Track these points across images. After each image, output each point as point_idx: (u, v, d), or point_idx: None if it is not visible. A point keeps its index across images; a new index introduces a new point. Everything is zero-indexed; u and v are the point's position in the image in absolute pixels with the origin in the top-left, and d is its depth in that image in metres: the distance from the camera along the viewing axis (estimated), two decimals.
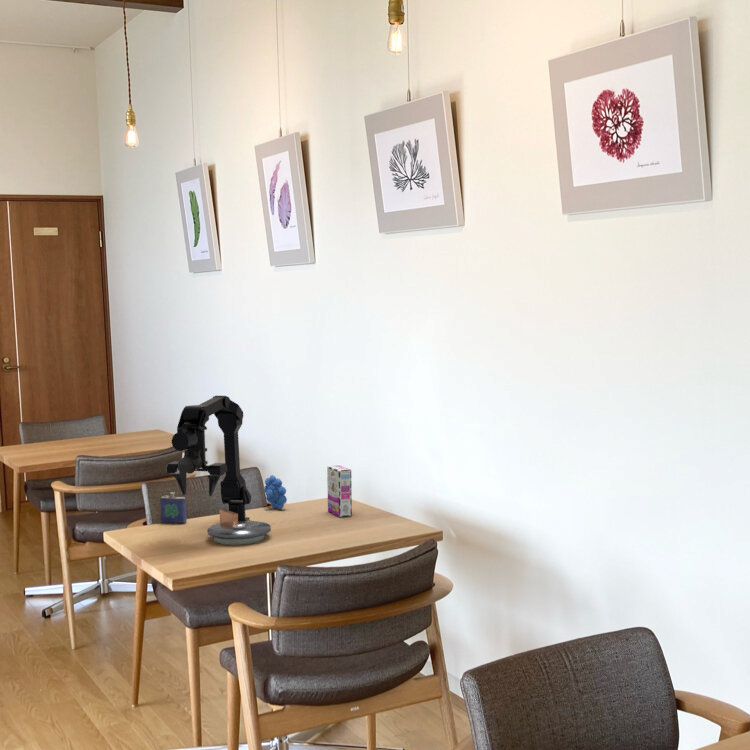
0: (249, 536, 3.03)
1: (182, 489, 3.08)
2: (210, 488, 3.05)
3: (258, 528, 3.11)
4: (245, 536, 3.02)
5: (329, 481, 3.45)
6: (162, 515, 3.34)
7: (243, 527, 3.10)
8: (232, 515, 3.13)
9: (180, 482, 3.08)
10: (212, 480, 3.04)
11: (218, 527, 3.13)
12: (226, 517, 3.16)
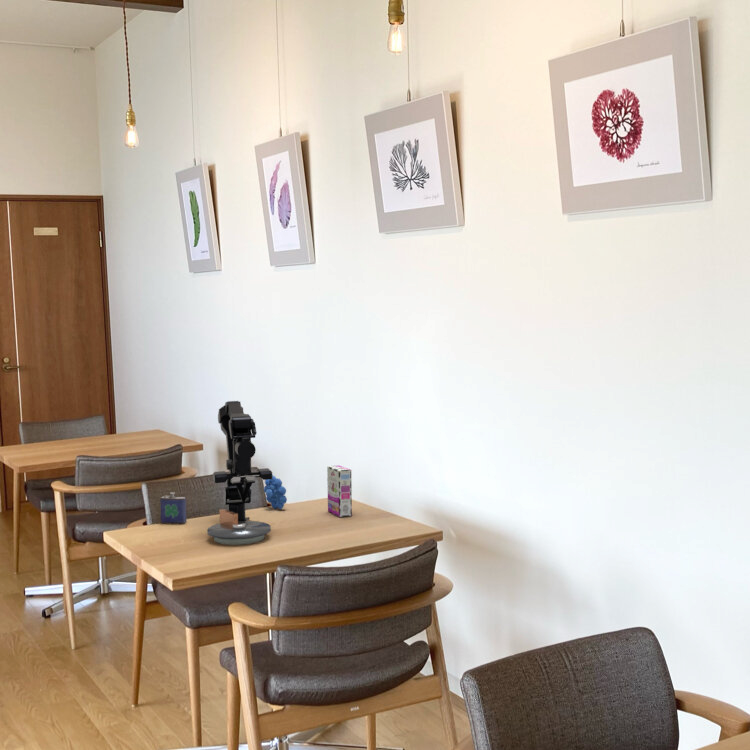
0: (249, 536, 3.03)
1: None
2: None
3: (258, 528, 3.11)
4: (245, 536, 3.02)
5: (329, 481, 3.45)
6: (162, 515, 3.34)
7: (243, 527, 3.10)
8: (232, 515, 3.13)
9: None
10: None
11: (218, 527, 3.13)
12: (226, 517, 3.16)
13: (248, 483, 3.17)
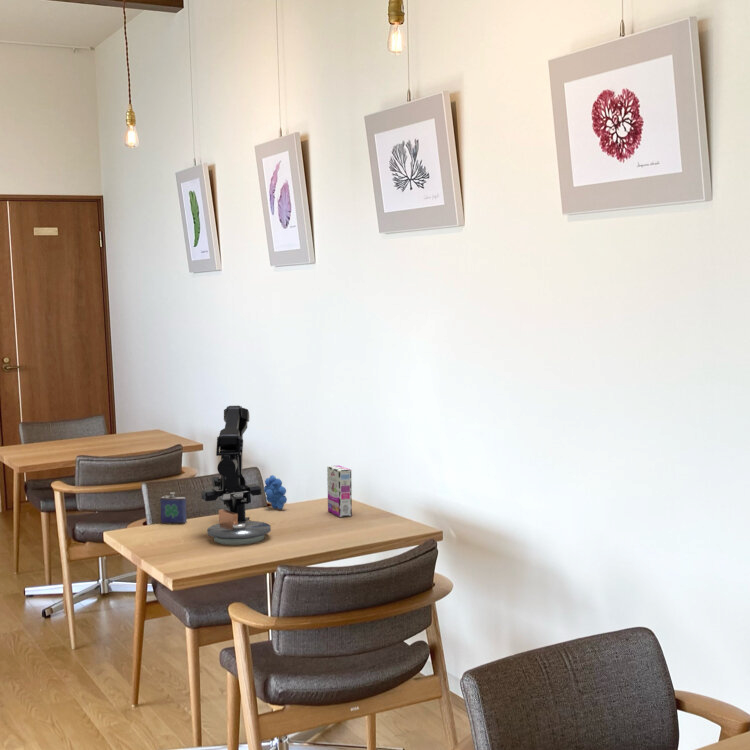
0: (250, 536, 3.03)
1: None
2: None
3: (258, 528, 3.11)
4: (246, 536, 3.02)
5: (329, 481, 3.45)
6: (162, 515, 3.34)
7: (243, 527, 3.10)
8: (232, 515, 3.13)
9: None
10: None
11: (218, 527, 3.13)
12: (226, 517, 3.16)
13: (238, 500, 3.17)
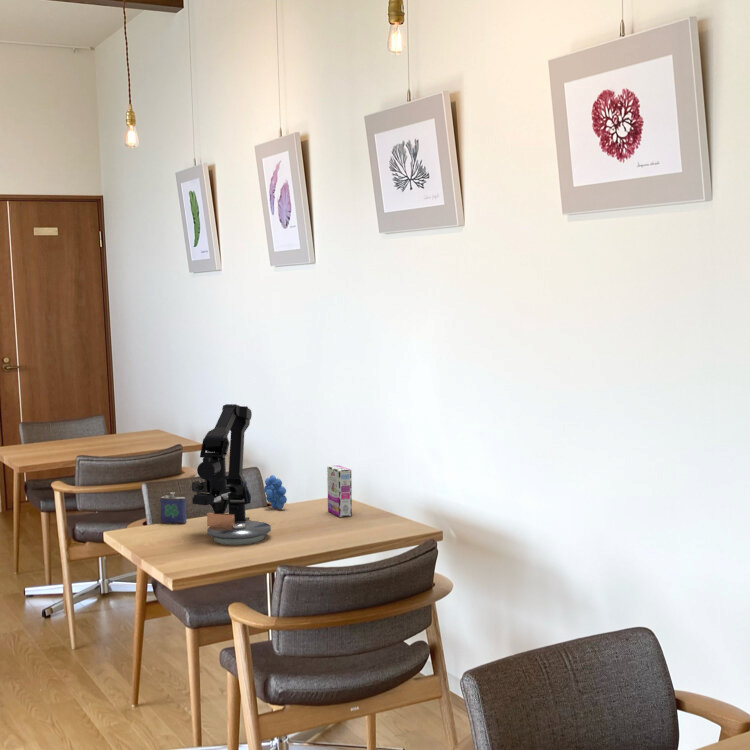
0: (264, 533, 3.06)
1: None
2: None
3: (258, 525, 3.14)
4: (261, 533, 3.05)
5: (329, 481, 3.45)
6: (162, 515, 3.34)
7: (245, 526, 3.11)
8: (230, 516, 3.11)
9: None
10: None
11: (217, 530, 3.09)
12: (219, 519, 3.13)
13: (227, 501, 3.16)
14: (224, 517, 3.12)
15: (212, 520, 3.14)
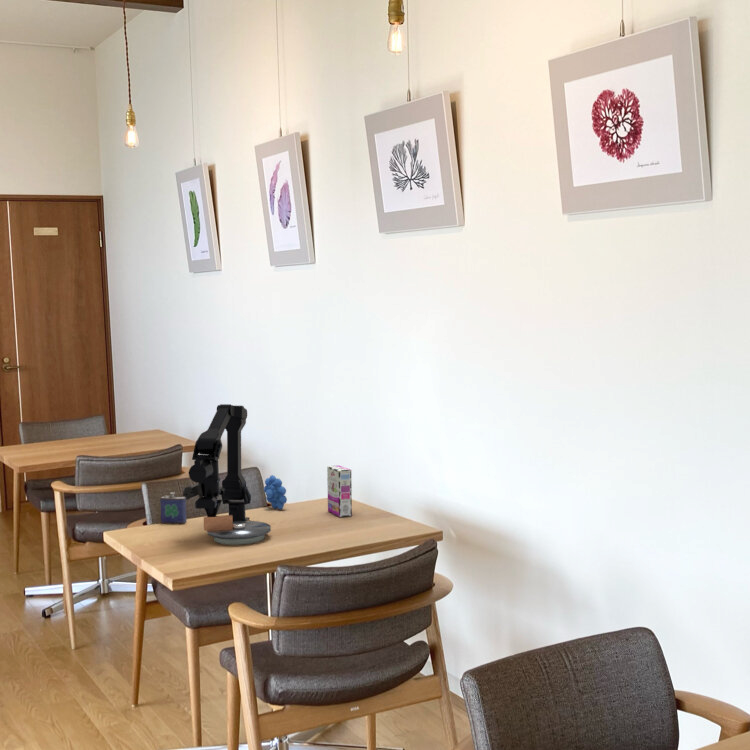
0: (270, 529, 3.11)
1: None
2: None
3: (252, 524, 3.17)
4: (269, 529, 3.10)
5: (329, 481, 3.45)
6: (162, 515, 3.34)
7: None
8: (230, 517, 3.10)
9: None
10: None
11: (223, 532, 3.06)
12: (218, 522, 3.09)
13: (220, 502, 3.13)
14: (223, 519, 3.10)
15: (210, 524, 3.09)
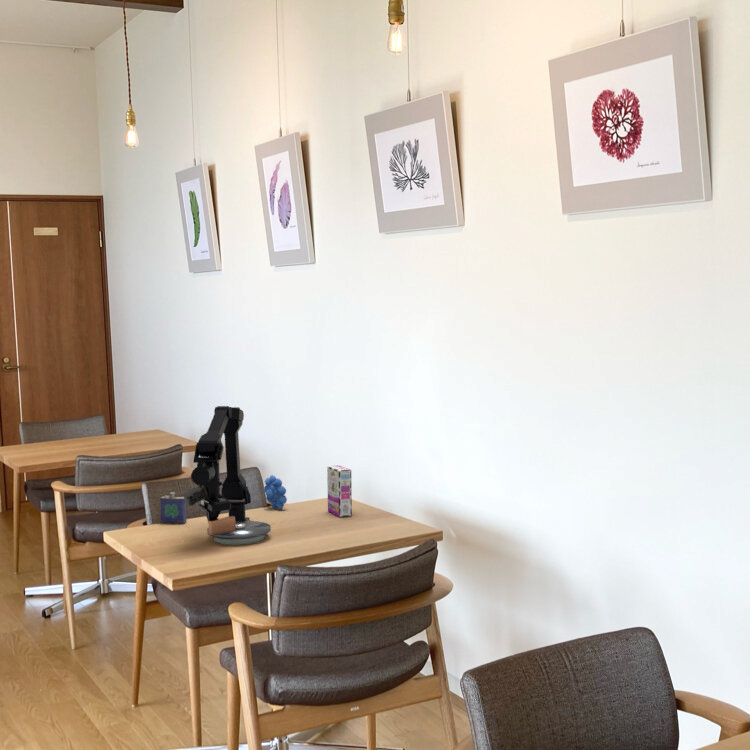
0: None
1: None
2: None
3: None
4: None
5: (329, 481, 3.45)
6: (162, 515, 3.34)
7: None
8: (233, 518, 3.09)
9: (206, 514, 3.07)
10: (208, 512, 3.05)
11: (234, 533, 3.05)
12: (223, 524, 3.06)
13: None
14: (228, 520, 3.08)
15: (216, 527, 3.05)
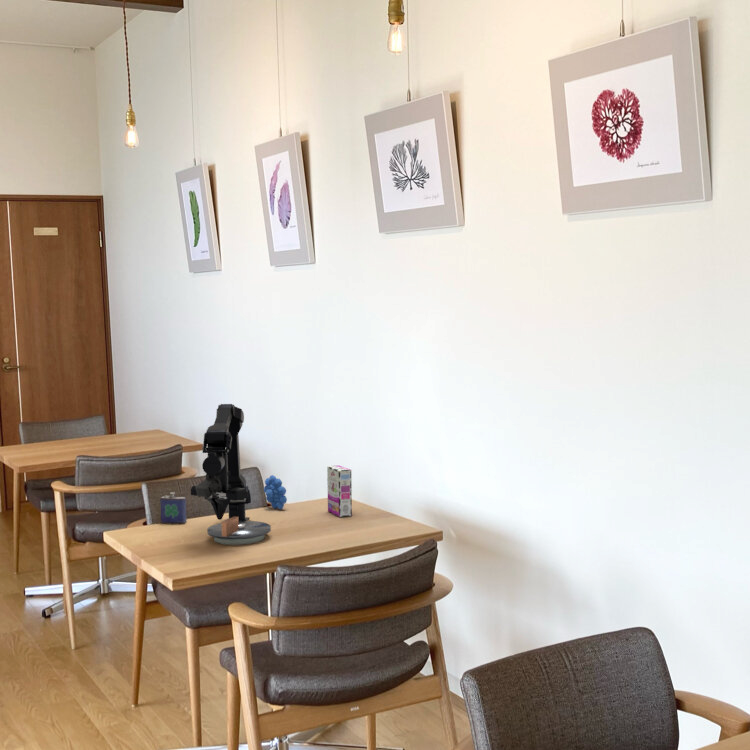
0: None
1: (217, 514, 3.03)
2: (219, 512, 3.02)
3: None
4: None
5: (329, 481, 3.45)
6: (162, 515, 3.34)
7: None
8: (237, 518, 3.09)
9: (214, 506, 3.02)
10: (220, 504, 3.01)
11: (245, 532, 3.05)
12: (232, 525, 3.05)
13: None
14: (234, 521, 3.07)
15: (229, 528, 3.03)
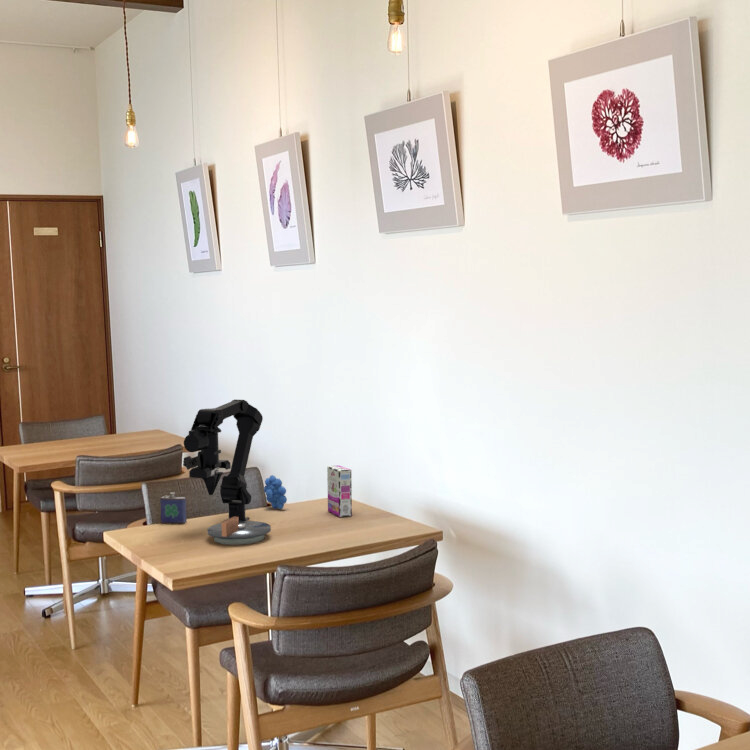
0: None
1: None
2: None
3: None
4: None
5: (329, 481, 3.45)
6: (162, 515, 3.34)
7: None
8: (237, 518, 3.09)
9: None
10: None
11: (245, 532, 3.05)
12: (232, 525, 3.05)
13: (220, 474, 3.21)
14: (234, 521, 3.07)
15: (229, 528, 3.03)
